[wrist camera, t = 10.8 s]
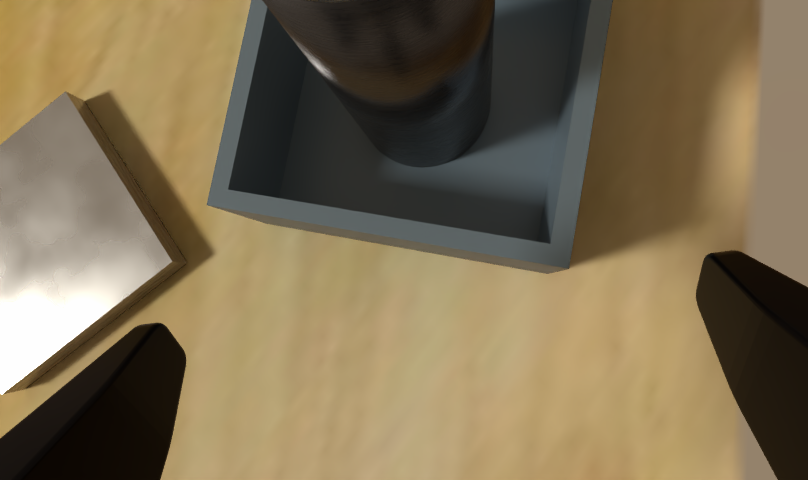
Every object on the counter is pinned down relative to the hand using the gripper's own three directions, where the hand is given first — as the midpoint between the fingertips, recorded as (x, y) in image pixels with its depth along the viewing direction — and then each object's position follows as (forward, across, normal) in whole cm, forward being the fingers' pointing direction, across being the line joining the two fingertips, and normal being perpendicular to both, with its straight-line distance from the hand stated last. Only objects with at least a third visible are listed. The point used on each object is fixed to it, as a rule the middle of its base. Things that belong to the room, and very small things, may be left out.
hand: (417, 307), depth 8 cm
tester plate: (+11, +17, +4) cm, 20 cm away
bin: (+13, 0, +2) cm, 13 cm away
